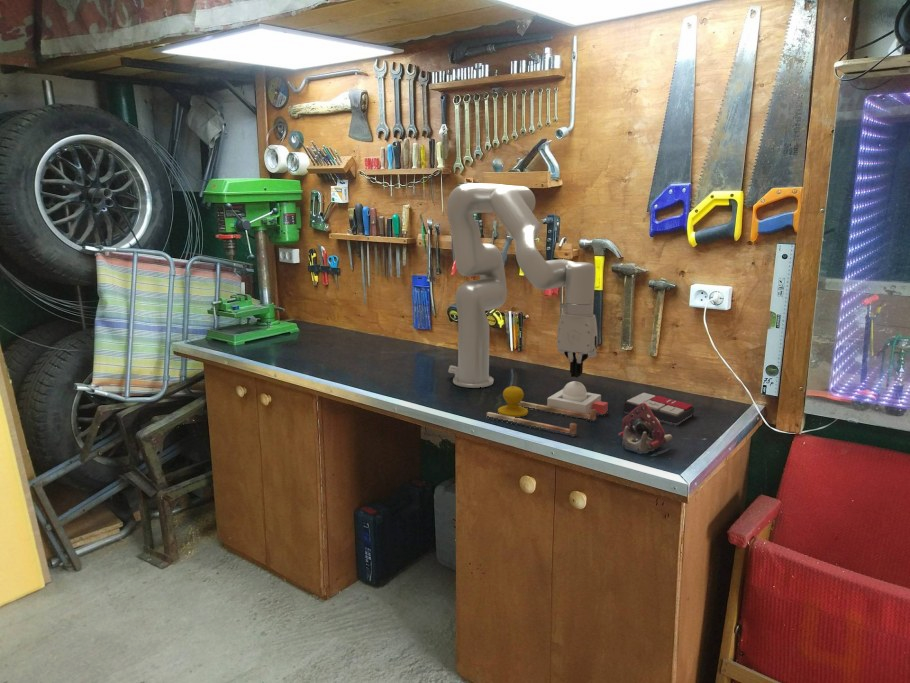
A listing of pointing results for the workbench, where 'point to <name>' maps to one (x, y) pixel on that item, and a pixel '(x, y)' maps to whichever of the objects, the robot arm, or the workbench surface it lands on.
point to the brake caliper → (643, 430)
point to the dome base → (578, 403)
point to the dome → (575, 391)
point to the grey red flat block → (661, 407)
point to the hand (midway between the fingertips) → (575, 376)
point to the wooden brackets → (542, 425)
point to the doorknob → (513, 402)
